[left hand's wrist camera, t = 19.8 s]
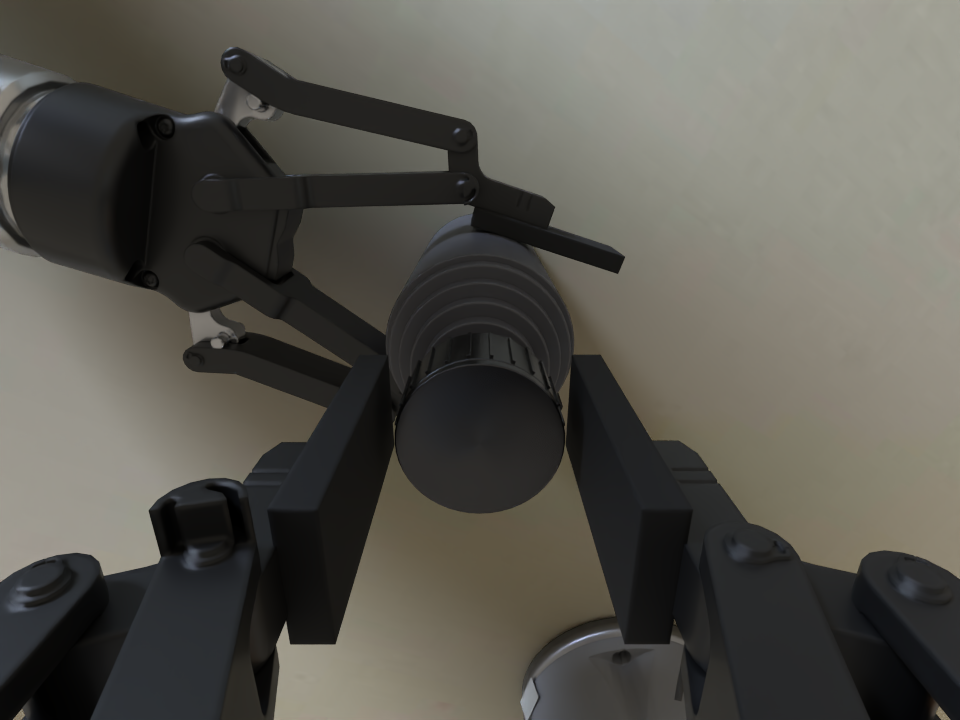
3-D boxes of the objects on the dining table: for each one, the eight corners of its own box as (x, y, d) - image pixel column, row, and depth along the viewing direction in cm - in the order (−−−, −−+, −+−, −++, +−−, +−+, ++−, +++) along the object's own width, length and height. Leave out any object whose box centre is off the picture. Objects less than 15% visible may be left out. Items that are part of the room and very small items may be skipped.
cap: (574, 351, 14) (591, 387, 12) (529, 479, 15) (537, 531, 13) (423, 313, 14) (413, 341, 11) (391, 447, 15) (376, 495, 13)
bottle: (404, 237, 29) (298, 354, 12) (515, 195, 29) (570, 257, 11) (447, 342, 32) (408, 565, 14) (551, 305, 31) (642, 496, 14)
